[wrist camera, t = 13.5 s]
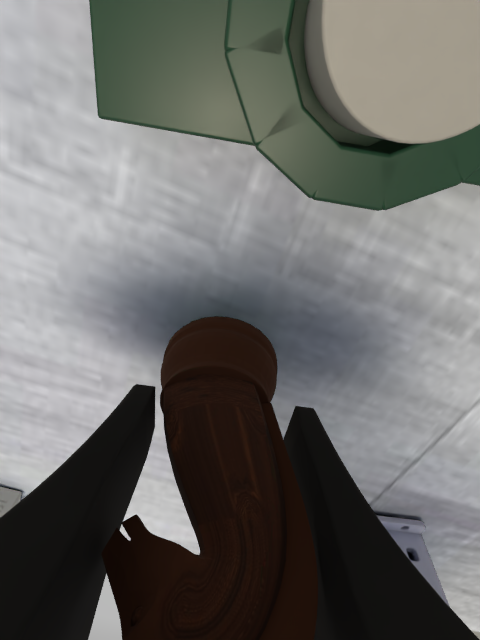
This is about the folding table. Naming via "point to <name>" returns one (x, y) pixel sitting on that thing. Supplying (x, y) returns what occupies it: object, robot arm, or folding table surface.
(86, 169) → the folding table surface
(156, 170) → the folding table surface
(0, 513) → the cosmetic box
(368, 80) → the beige short cylinder
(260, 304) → the folding table surface
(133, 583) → the chess piece
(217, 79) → the push button base
